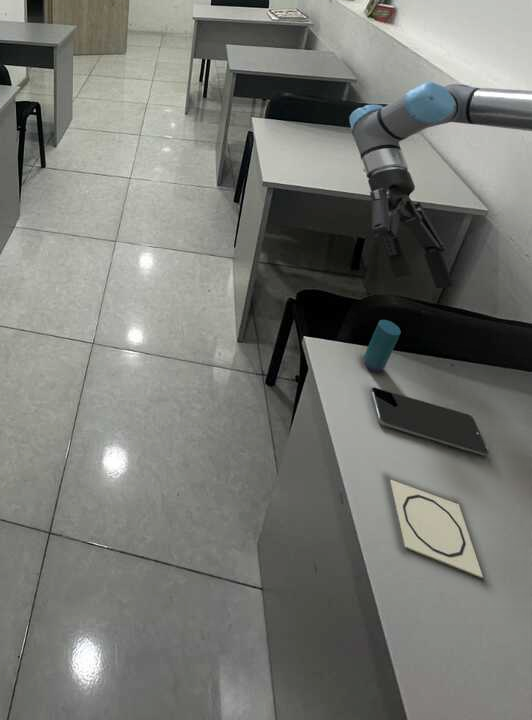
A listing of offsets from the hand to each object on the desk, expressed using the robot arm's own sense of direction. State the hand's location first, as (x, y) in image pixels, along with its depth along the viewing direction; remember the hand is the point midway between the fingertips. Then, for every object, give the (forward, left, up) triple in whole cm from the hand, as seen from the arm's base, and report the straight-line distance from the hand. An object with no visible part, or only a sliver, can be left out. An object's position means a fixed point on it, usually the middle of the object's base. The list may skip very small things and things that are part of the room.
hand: (424, 281), depth 87 cm
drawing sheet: (+1, +31, -19) cm, 36 cm away
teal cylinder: (+4, +4, -19) cm, 20 cm away
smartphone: (-3, +13, -19) cm, 23 cm away
